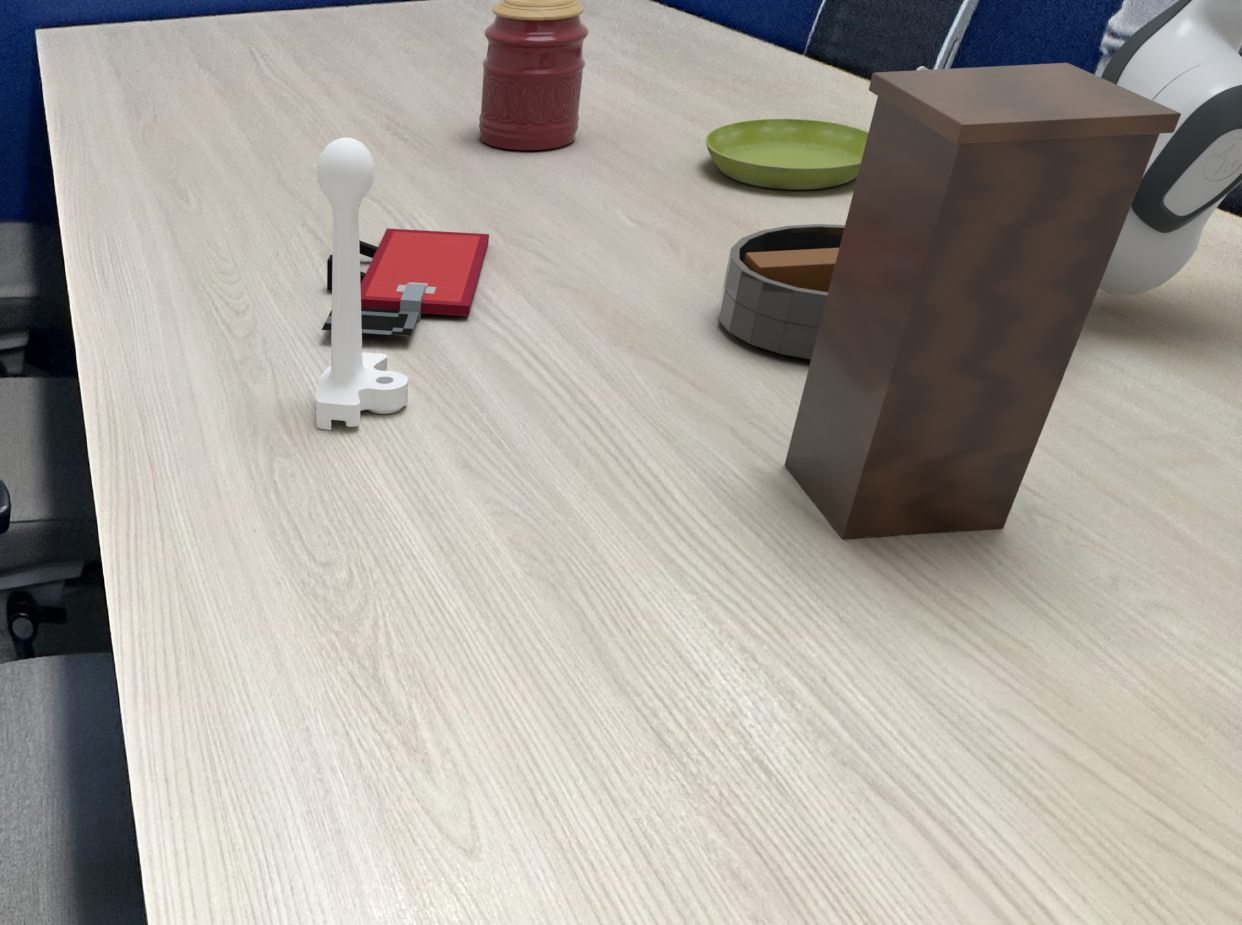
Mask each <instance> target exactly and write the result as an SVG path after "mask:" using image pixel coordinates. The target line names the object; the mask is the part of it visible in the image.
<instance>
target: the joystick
mask: <svg viewBox="0 0 1242 925" xmlns="http://www.w3.org/2000/svg"><path fill="white" fill-rule="evenodd" d="M316 178H317V183H318V186H319V188H320V190H321V192H322V193H323V195H324V196H325V197H326V199H327V200H328V202H329V204H330V206H331V211H332V255H333V263H332V291H331V310H332V329H331V335H330V336H331V337H330V338H331V339H330V344H331V345H330V365H328V367H327V368H325V370H324V371H323V372H322V373H321V375H320V377H319V379H318V380H317V384H316V386H315V387H316V388H315V422H316V428H318V429H319V430H328V431H332V421H343V422H344V423H345V426H346V427H349V428H350V427H351V428H353V427H358V426H360V425H361V411H366V410H368V411H369V412H371V413H374V414H379V415H388V414H393V413H397V412H399V411H400V410H402V408H404V407H405V406H406V405H407V404H408V401H409V400H408V399H409V377H408V376H407V375H406V374H403V373H401V372H398V371H393V370H388V355H387V354H384V353H376V352H365V351H363V333H362V324H361V286H360V271H361V256H360V255H361V254H360V248H359V240H360V217H359V215H360V214H359V213H360V206H361V203H362V201H363V199H364V198H365V197H366V196H367V194H368V193H369V192H370V190H371V188H372V187H373V183H374V181H375V180H374V179H375V163H374V159H373V156H372V154H371V152H370V150H369V149H368V148H367V147H366V145H365V144H364V143H362V142H361V141H359V139H355V138H353V137H340V138H337V139H334V140H332V141H331V142H329V143H328V144H327V145H326V146H325V147H324V149H323V150H322V151H321V153H320V155H319V158H318V161H317V165H316Z"/></svg>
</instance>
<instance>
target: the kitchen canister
mask: <svg viewBox="0 0 1242 925" xmlns="http://www.w3.org/2000/svg"><path fill="white" fill-rule="evenodd" d="M584 11H585V6H584V5H583V4H582V3H581V2H579V1H578V0H501V1H499V2H498V3H495V5H493V7H492V14H494V15H495V17H494V20H493V22H492V23H490V24H489V25H488V26H486V28H485V29H484V31H483V32H484V33H483V34H484V37H485V38H486V40H487V50H486V57H485V58H484V60H483V61H482V68H483V72H482V91H481V107H480V108H481V109H480V114H479V117H478V120H479V122H478V129H479V139H480V140H481V141H482V142H483V143H485V144H486V145H489V146H491V147H495V148H499V149H503V150H504V149H506V150H510V151H511V150H513V151H543V150H545V151H546V150H551V149H552V150H553V149H557V148H561V147H565V146H567V145H570V144H571V143H573V141H575V139H576V135H577V131H578V129H579V121H580V115H579V110H580V100H581V93H582V83H583V73H584V68H585V65H586V61H585V59H584V58H583V50H584V49H583V48H584V47H583V46H584V41H585V40H586V38H587V37H588V35H589V32H590V31H589V28H588V27H587V26H586V25H585V24H584V23H583V22H582V20H581V15H582V14H583V13H584Z"/></svg>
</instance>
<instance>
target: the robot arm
mask: <svg viewBox="0 0 1242 925" xmlns="http://www.w3.org/2000/svg"><path fill="white" fill-rule="evenodd" d="M1241 48H1242V0H1177V1H1176V2H1175V3H1173V4H1172V5H1171V6H1169V7H1168V8H1166V9H1164V11H1162V12H1161V13H1159V14H1158V15H1156V16H1155V17H1153V18H1152V19H1151V20H1149V21H1148V22H1147V23H1146V24H1143V25H1142V27H1140V28H1139V29H1137V30H1136V31H1135V32H1134V33H1133V34H1131V35H1130V36H1129V37H1128V38H1127V39H1126V40H1125V41H1124V42H1123V43H1122V45H1121V46H1120V47H1119V48H1118V49H1117V50H1116V51H1115V53H1114V54H1113V56H1112V57H1111V58H1110V60H1109V61H1108V63H1107V65H1106V66H1105V68H1104V70H1103V71H1102V73H1101V76H1100V78H1103V79H1105V80H1107V81H1109V82H1112V83H1114V84H1116V85H1118V86H1121V87H1123V88H1125V89H1127V90H1130V91H1132V92H1134V93H1136V94H1139V95H1141V96H1143V97H1145V98H1148V99H1150V100H1152V101H1154V102H1157V103H1159V104H1161V105H1163V106H1166V107H1168V108H1170V109H1172V110H1175V111H1177V112H1179V113H1181V116H1180V118H1179V121H1178V123H1177V126H1176V128H1175V131H1174V132H1173V133H1161V134H1159V137H1158V139H1157V142H1156V144H1155V147H1154V149H1153V152H1152V154H1151V157H1150V160H1149V162H1148V165H1147V167H1146V170H1145V172H1144V175H1143V177H1142V180H1141V182H1140V185H1139V187H1138V190H1137V192H1136V195H1135V197H1134V200H1133V202H1132V205H1131V207H1130V210H1129V212H1128V215H1127V218H1126V220H1125V223H1124V225H1123V228H1122V230H1121V233H1120V235H1119V238H1118V240H1117V243H1116V245H1115V248H1114V250H1113V253H1112V255H1111V258H1110V260H1109V263H1108V265H1107V268H1106V270H1105V273H1104V276H1103V278H1102V281H1101V283H1100V286H1099V288H1098V290H1099V291H1102V292H1105V293H1107V294H1110V295H1115V296H1135V295H1141V294H1144V293H1147V292H1150V291H1152V290H1155V289H1156V288H1159V287H1160V286H1162V285H1163V284H1165V283H1167V282H1168V281H1169V280H1170V279H1172V278H1173V277H1175V276H1176V275H1177V274H1178V273H1179V272H1180V271H1181V270H1182V269H1183V268H1184V267H1185V266H1186V265H1187V264H1188V262H1190V260H1191V259H1192V257H1193V256H1194V254H1195V252H1196V250H1197V248H1198V247H1199V243H1200V240H1201V236H1202V234H1203V231H1204V228H1205V226H1206V225H1207V223H1208V221H1209V219H1210V217H1211V216H1212V215H1213V213H1214V212H1215V211H1216V209H1217V208H1218V207H1219V205H1220V204H1221V203H1222V201H1223V200H1224V199H1225V198H1226V197H1227V195H1228V194H1229V193H1230V192H1232V191H1233V190H1234V189H1236V188H1237V187H1238V186H1239V185H1240V184H1242V56H1241V54H1239V52H1240V50H1241ZM916 70H930V69H929V68H928V67H925V66H923V65H921V66H919V67H917V68H916Z"/></svg>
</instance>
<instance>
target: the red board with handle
mask: <svg viewBox="0 0 1242 925" xmlns="http://www.w3.org/2000/svg"><path fill="white" fill-rule="evenodd" d="M489 241H490V233H477V232H476V233H475V232H460V231H459V232H458V231H441V230H422V229H405V228H387V227H386V229H385V232H384V234H383V236H382V238H381V240H380V242H379V245H378V246H376V245H375V244H371V243H368V242H365V241H362V240H360V239H359V248H360V255H362V256H365V257H368V258H370V259H371V262H370V263H369V266H368V267H367V270H366V272H364V271H361V270H360V286H361V324H362V334H371V335H372V334H373V335H387V336H388V335H389V336H404V337H412V334H413V331H414V329H415V326H416V322H417V323H418V322H420V320H421V316H422V314H428V315H443V316H444V315H445V316H458V317H469V316H470V313H471V312H470V311H471V309H472V305H473V301H474V298H475V295H476V290H477V287H478V283H479V279H480V275H481V271H482V268H483V265H484V261H485V257H486V253H487V251H488V246H489V243H490V242H489ZM332 263H333V254H330V255H329V256H328V258H327V261H326V271H327V272H326V291H329V292H332ZM331 329H332V309H331V310H330V312H329V313H328V316H327V318H326V320H325V322H324V324H323V326H322V328H321V331H328V332H329V331H331Z"/></svg>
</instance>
